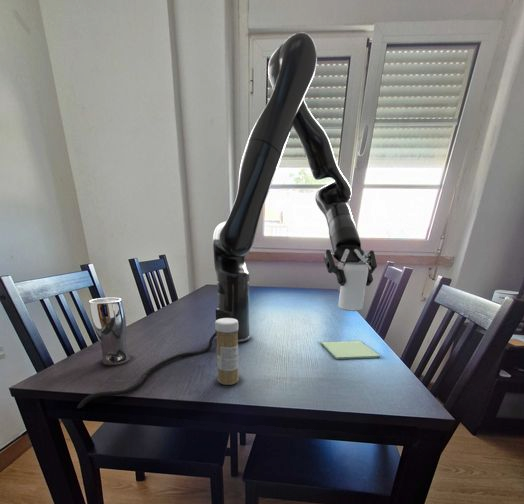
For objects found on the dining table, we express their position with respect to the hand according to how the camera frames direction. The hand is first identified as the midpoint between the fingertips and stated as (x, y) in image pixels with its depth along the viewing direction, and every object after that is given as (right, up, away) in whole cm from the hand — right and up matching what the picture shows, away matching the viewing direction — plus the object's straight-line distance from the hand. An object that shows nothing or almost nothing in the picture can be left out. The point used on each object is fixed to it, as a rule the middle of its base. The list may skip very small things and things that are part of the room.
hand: (356, 283), depth 73 cm
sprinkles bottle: (-32, -24, -13) cm, 42 cm away
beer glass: (-61, -20, -4) cm, 64 cm away
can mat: (0, -17, +6) cm, 18 cm away
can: (0, -6, +4) cm, 7 cm away
